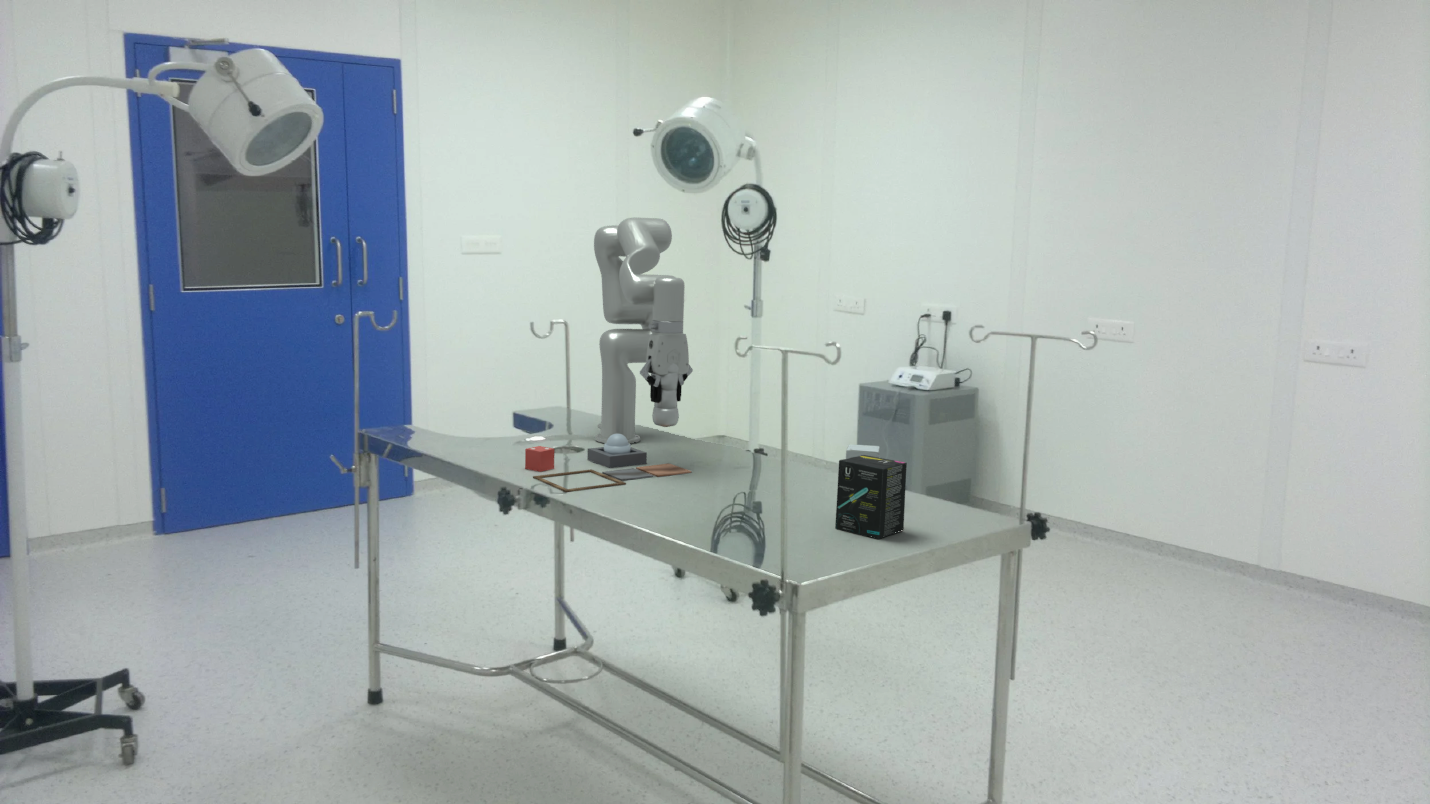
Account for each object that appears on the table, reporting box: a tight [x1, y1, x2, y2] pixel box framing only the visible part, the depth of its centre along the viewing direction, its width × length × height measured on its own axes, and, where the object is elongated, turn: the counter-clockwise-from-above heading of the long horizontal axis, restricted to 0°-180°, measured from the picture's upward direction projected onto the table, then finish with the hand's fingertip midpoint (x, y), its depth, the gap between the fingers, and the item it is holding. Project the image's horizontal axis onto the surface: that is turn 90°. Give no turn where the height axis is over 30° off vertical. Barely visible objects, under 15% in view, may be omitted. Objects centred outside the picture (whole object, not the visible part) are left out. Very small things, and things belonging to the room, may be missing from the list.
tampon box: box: [834, 455, 907, 539], centre depth 217 cm, size 11×9×15 cm
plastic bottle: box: [651, 363, 680, 428], centre depth 262 cm, size 6×7×20 cm
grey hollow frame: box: [586, 446, 648, 469], centre depth 273 cm, size 11×11×3 cm
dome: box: [603, 434, 632, 455], centre depth 273 cm, size 7×7×6 cm
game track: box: [532, 462, 692, 493], centre depth 257 cm, size 16×37×1 cm, turn 127°
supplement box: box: [845, 443, 881, 459], centre depth 240 cm, size 7×7×13 cm
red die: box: [524, 445, 555, 473], centre depth 262 cm, size 5×5×5 cm
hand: (665, 400), depth 262 cm, fingers closed on plastic bottle, 5 cm apart
